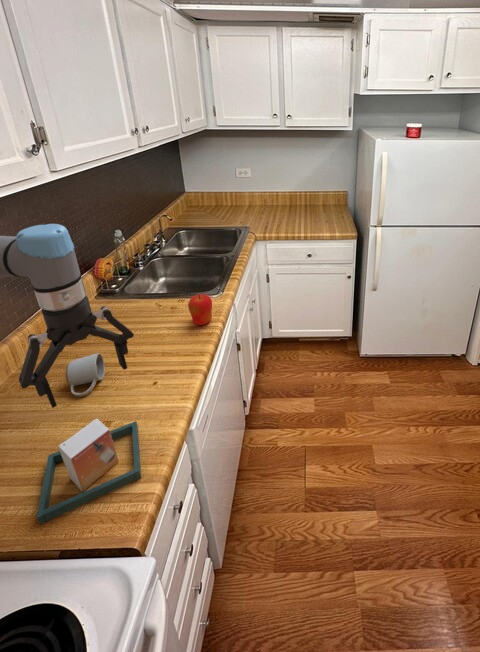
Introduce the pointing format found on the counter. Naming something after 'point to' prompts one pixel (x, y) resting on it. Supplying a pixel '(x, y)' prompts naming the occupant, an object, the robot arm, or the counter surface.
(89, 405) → the counter surface
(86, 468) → the small box
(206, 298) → the apple
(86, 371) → the ceramic mug
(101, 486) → the empty rectangular frame
